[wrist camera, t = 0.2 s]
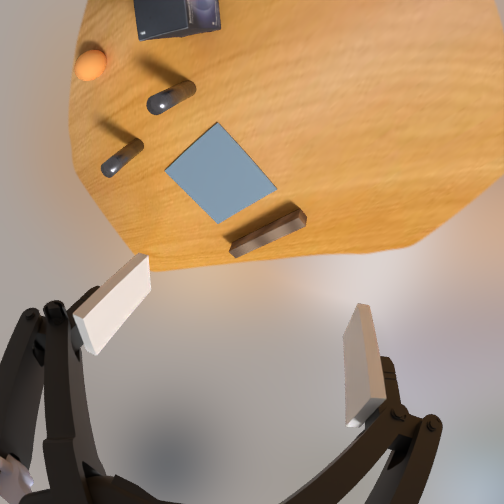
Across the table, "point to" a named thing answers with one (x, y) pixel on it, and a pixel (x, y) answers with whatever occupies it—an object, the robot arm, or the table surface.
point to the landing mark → (219, 175)
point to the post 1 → (121, 158)
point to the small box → (175, 18)
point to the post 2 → (170, 97)
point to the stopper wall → (269, 233)
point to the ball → (90, 65)
